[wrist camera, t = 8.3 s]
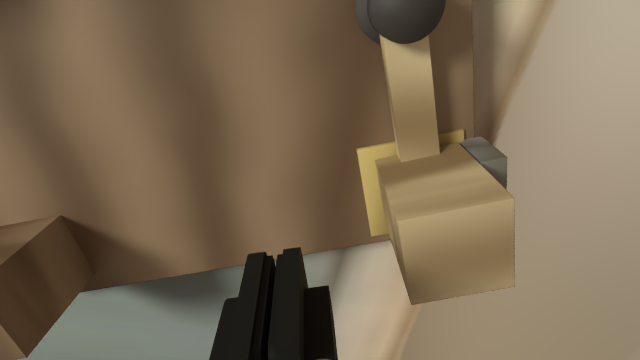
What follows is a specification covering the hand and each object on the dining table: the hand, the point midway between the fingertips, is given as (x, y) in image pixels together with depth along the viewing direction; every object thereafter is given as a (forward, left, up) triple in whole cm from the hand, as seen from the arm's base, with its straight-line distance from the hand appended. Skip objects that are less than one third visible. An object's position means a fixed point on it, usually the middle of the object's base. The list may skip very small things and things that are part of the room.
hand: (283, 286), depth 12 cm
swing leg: (+6, +3, -6) cm, 9 cm away
